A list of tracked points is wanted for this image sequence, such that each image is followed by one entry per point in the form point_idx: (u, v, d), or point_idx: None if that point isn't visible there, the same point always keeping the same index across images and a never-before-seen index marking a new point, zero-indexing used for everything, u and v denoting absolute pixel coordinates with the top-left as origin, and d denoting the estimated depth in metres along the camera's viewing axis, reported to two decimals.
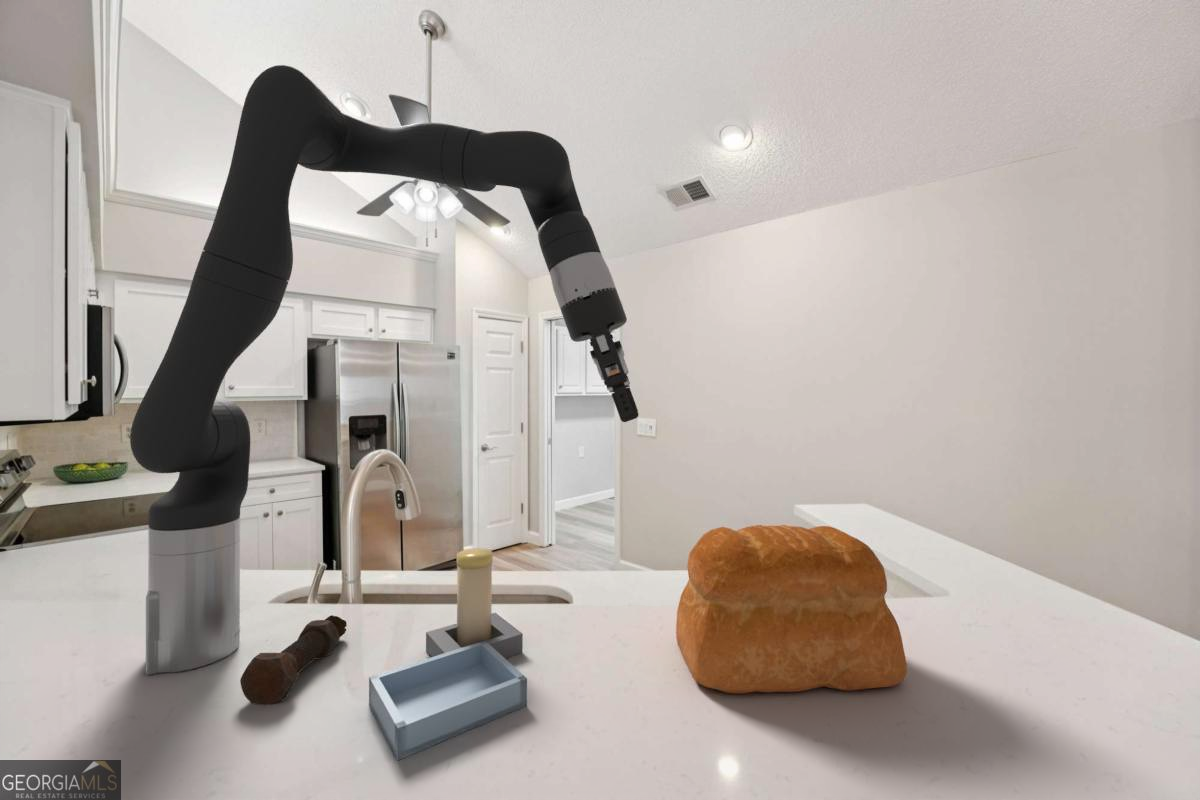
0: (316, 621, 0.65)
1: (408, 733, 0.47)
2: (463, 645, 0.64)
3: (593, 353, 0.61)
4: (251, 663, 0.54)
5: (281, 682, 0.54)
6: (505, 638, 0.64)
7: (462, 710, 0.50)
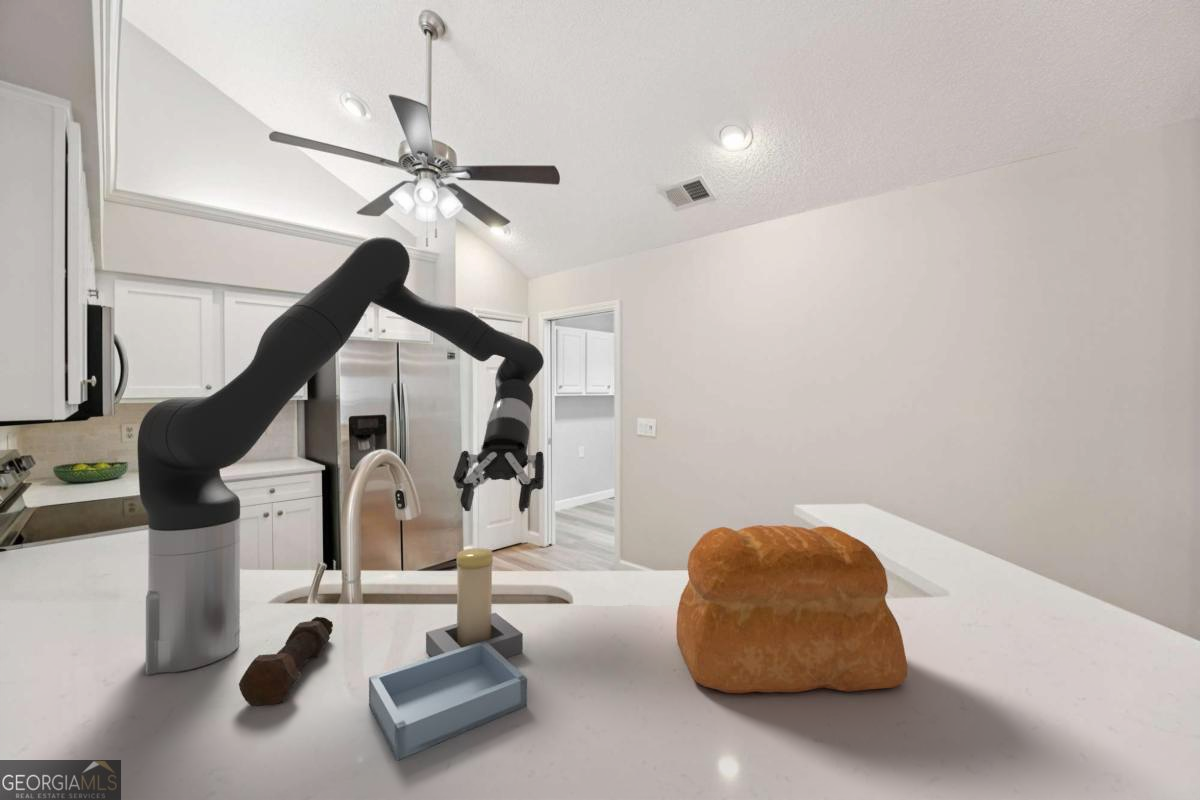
0: (305, 622, 0.65)
1: (408, 733, 0.47)
2: (463, 645, 0.64)
3: None
4: (251, 665, 0.54)
5: (284, 682, 0.54)
6: (505, 638, 0.64)
7: (462, 710, 0.50)
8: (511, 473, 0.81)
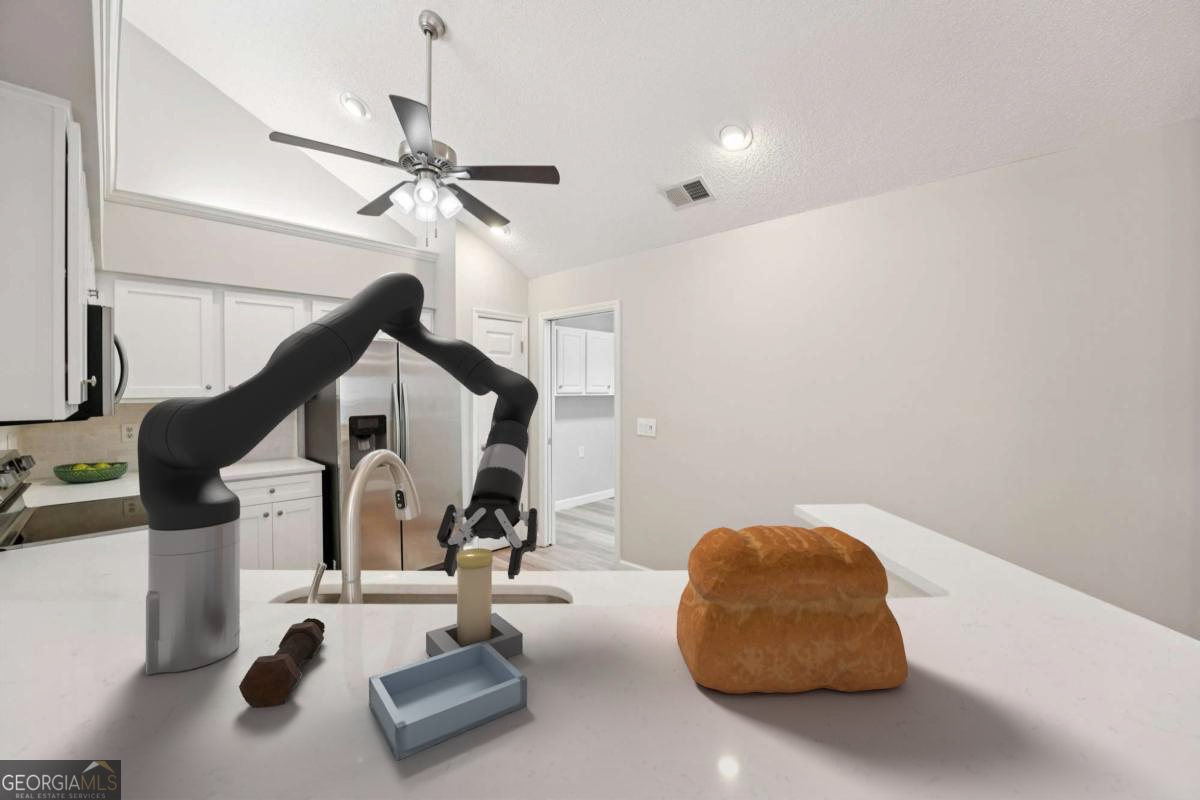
0: (298, 624, 0.65)
1: (408, 733, 0.47)
2: (463, 645, 0.64)
3: None
4: (252, 667, 0.54)
5: (287, 682, 0.54)
6: (505, 638, 0.64)
7: (462, 710, 0.50)
8: (501, 533, 0.73)
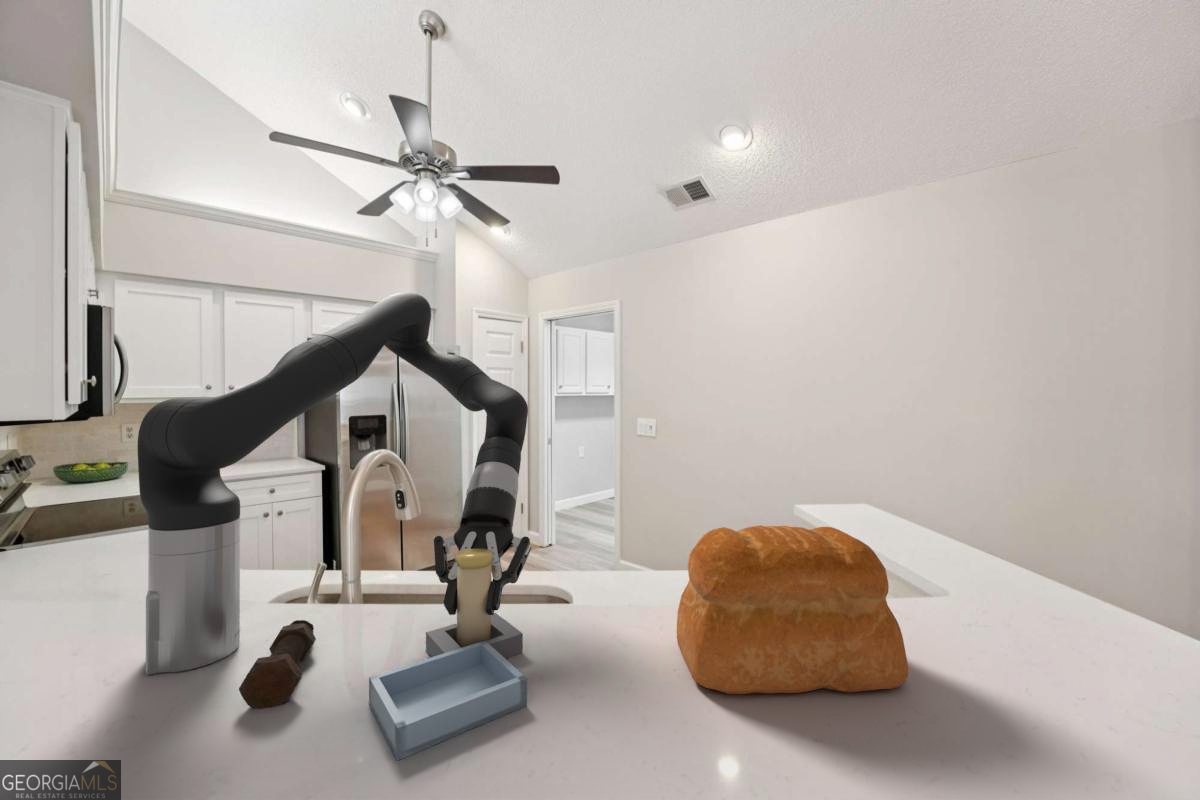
0: (289, 626, 0.64)
1: (408, 733, 0.47)
2: (463, 645, 0.64)
3: None
4: (253, 668, 0.53)
5: (289, 682, 0.54)
6: (505, 638, 0.64)
7: (462, 710, 0.50)
8: None
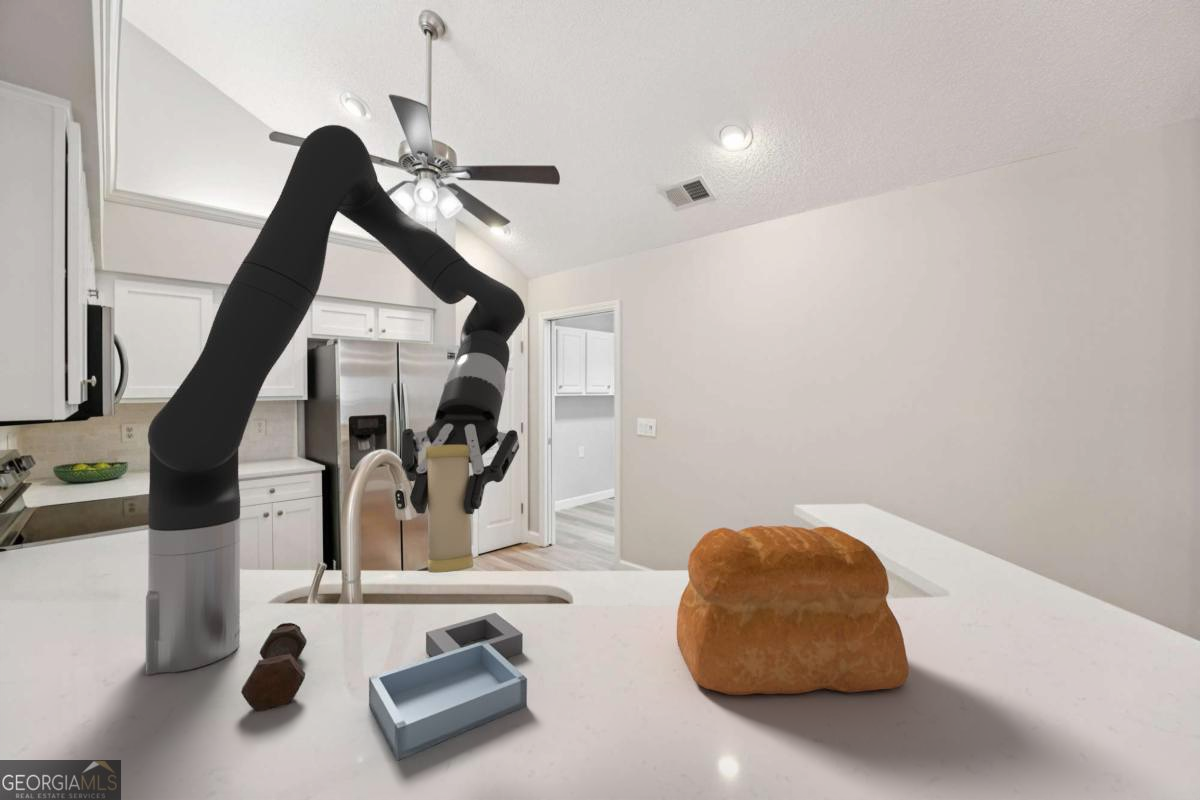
0: (279, 628, 0.63)
1: (408, 733, 0.47)
2: (438, 553, 0.51)
3: None
4: (256, 670, 0.53)
5: (293, 681, 0.55)
6: (505, 638, 0.64)
7: (462, 710, 0.50)
8: None
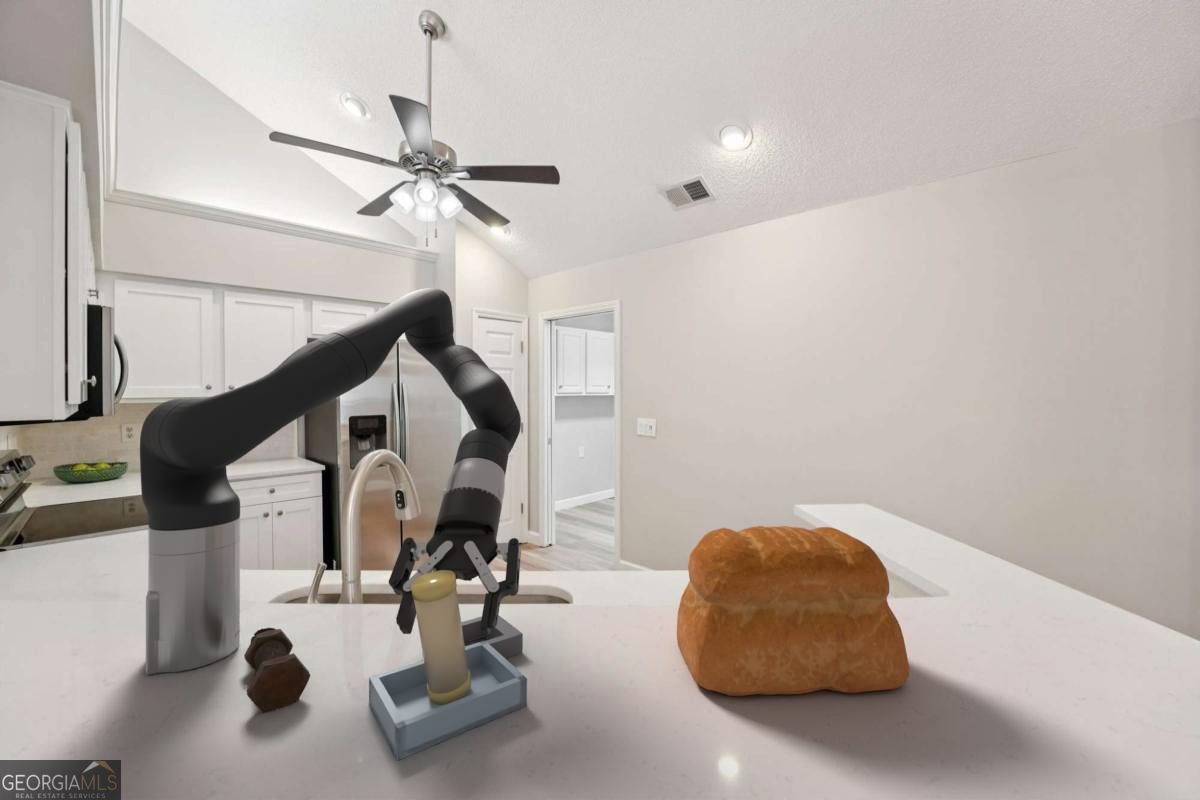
0: (263, 633, 0.62)
1: (408, 733, 0.47)
2: (438, 688, 0.53)
3: None
4: (263, 671, 0.53)
5: (300, 679, 0.55)
6: (505, 638, 0.64)
7: (462, 710, 0.50)
8: (472, 572, 0.57)
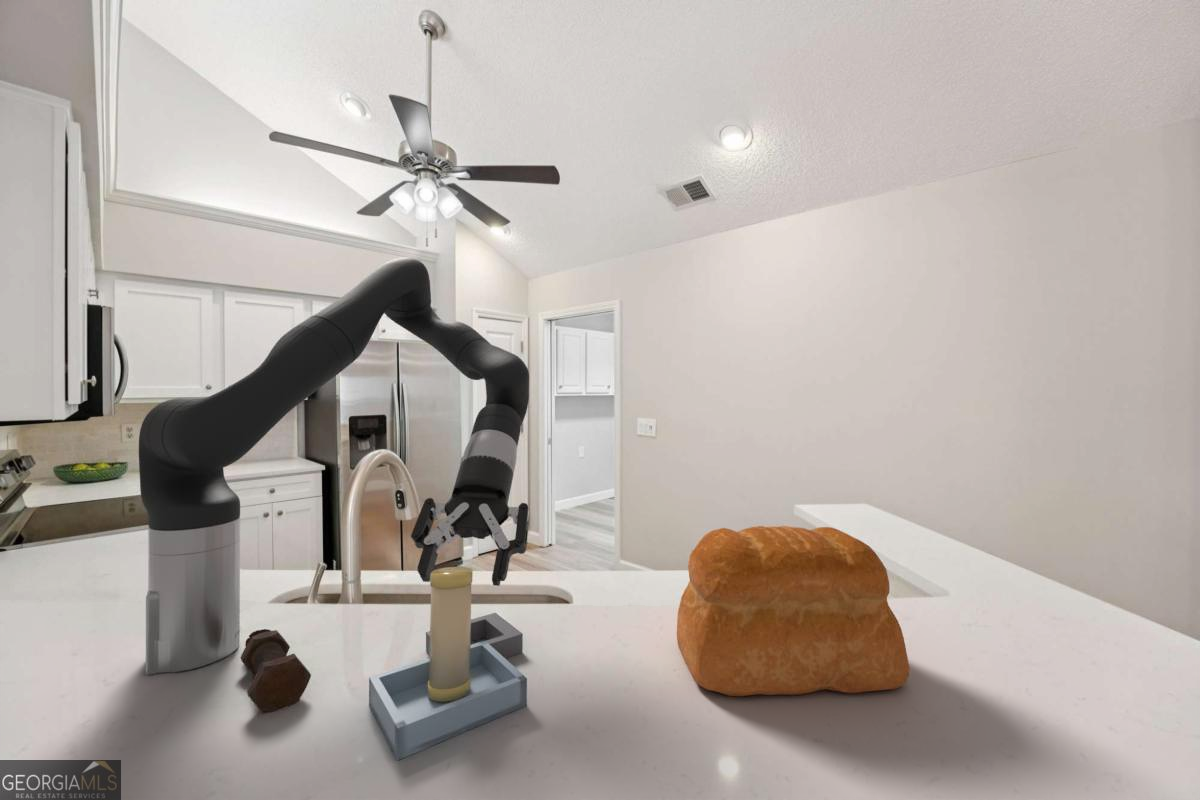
0: (259, 634, 0.61)
1: (408, 733, 0.47)
2: (440, 683, 0.54)
3: None
4: (265, 672, 0.53)
5: (301, 679, 0.55)
6: (505, 638, 0.64)
7: (462, 710, 0.50)
8: (486, 531, 0.64)
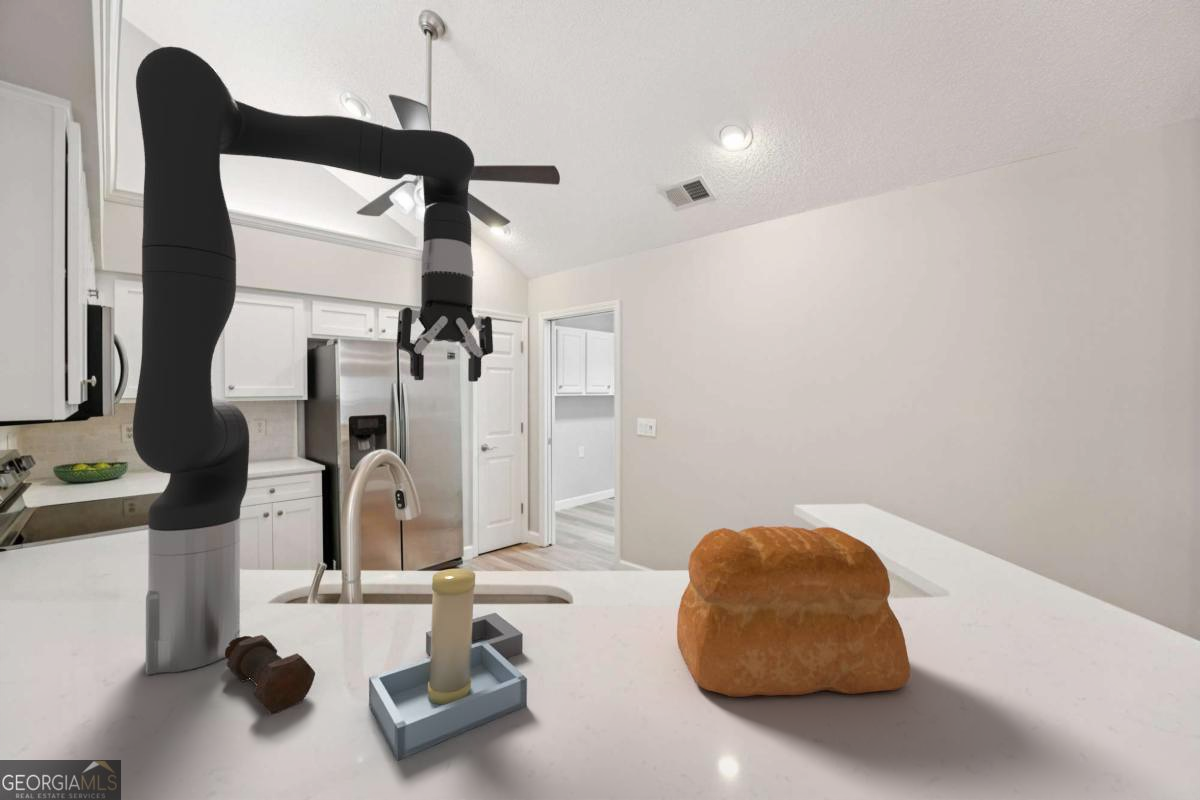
0: (245, 640, 0.60)
1: (408, 733, 0.47)
2: (442, 686, 0.54)
3: None
4: (272, 673, 0.53)
5: (307, 678, 0.55)
6: (505, 638, 0.64)
7: (462, 710, 0.50)
8: (460, 340, 0.77)
